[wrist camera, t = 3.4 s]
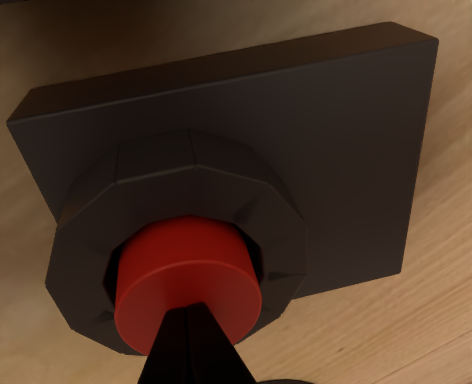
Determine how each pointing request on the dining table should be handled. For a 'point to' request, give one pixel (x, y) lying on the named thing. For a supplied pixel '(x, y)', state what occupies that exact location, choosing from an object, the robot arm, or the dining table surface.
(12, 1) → the brown u-shaped frame
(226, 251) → the power button
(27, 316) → the dining table surface
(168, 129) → the power block
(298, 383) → the coaster
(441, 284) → the dining table surface
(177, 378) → the robot arm
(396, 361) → the dining table surface
